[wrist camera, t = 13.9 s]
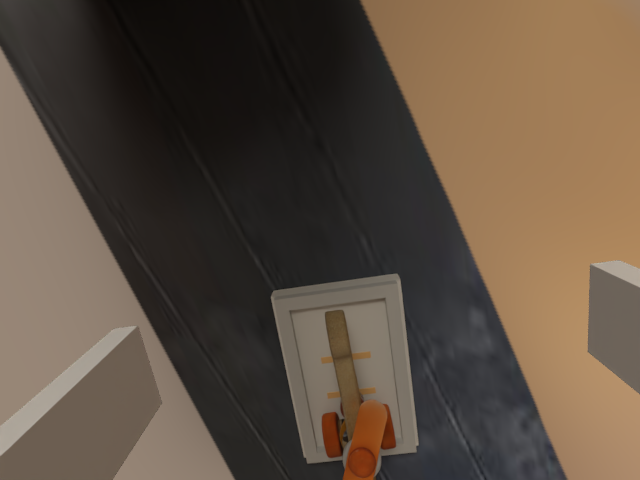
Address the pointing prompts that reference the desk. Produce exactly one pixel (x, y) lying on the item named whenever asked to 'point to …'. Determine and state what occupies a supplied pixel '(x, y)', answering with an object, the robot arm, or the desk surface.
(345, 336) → the toy helicopter
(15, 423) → the robot arm
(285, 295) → the plate
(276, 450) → the desk surface
